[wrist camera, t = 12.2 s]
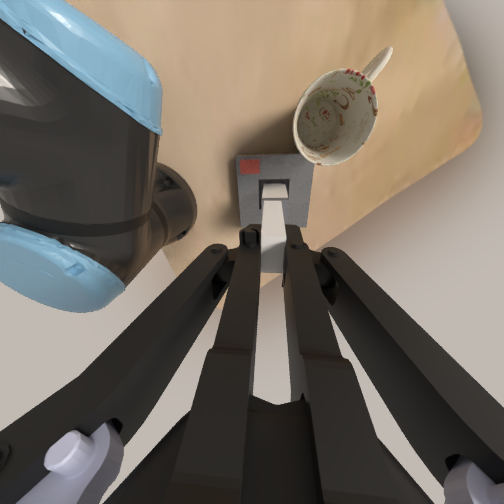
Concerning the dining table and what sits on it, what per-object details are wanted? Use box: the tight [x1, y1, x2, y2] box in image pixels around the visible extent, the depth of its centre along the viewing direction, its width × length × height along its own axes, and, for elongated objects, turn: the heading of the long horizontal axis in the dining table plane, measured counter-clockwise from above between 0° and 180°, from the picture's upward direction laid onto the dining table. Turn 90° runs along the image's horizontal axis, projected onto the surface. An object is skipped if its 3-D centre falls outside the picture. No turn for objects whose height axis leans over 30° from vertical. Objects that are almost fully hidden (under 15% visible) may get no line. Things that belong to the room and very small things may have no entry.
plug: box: [261, 183, 289, 224], centre depth 30 cm, size 4×4×9 cm
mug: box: [292, 46, 393, 166], centre depth 23 cm, size 8×12×10 cm, turn 143°
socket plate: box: [235, 153, 314, 227], centre depth 33 cm, size 12×12×3 cm
